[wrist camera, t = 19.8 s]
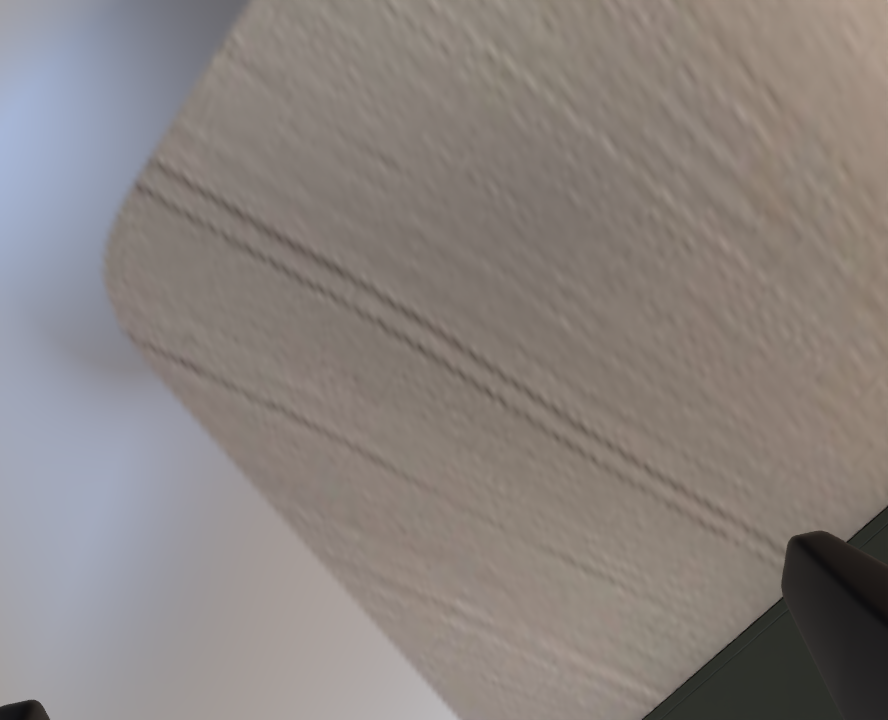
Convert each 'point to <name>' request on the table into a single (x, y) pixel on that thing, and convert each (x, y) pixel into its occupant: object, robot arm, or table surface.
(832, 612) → the robot arm
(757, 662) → the bin
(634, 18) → the table surface
